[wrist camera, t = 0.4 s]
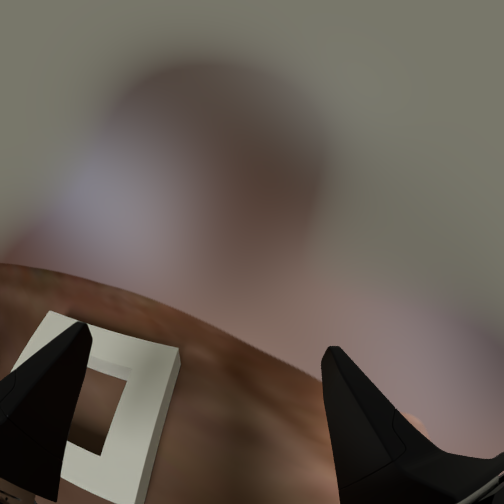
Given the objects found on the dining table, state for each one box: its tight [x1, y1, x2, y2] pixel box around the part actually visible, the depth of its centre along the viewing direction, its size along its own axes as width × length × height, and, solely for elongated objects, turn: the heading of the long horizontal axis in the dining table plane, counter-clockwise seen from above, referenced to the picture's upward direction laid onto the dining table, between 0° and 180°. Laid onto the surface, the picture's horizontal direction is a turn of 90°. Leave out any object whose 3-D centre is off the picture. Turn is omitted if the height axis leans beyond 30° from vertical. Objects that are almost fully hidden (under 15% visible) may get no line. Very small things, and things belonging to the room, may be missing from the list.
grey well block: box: [11, 311, 181, 504], centre depth 18 cm, size 16×16×3 cm
